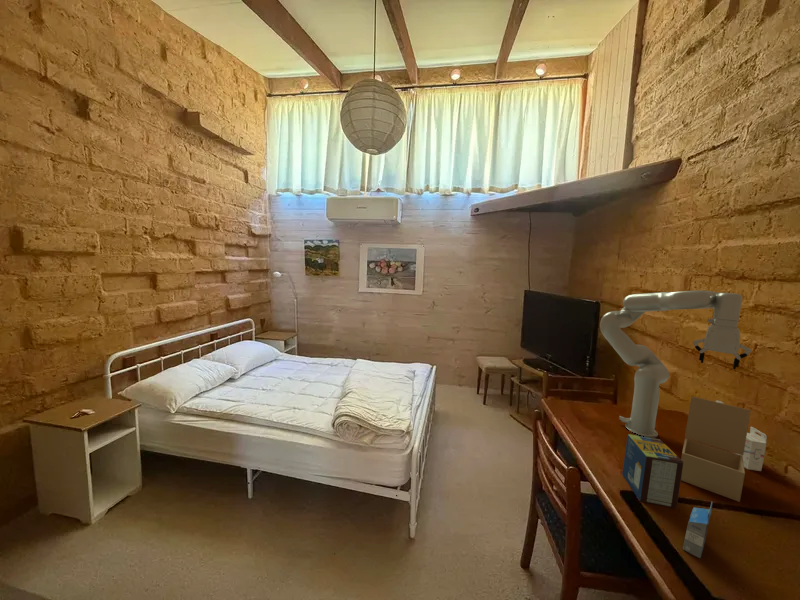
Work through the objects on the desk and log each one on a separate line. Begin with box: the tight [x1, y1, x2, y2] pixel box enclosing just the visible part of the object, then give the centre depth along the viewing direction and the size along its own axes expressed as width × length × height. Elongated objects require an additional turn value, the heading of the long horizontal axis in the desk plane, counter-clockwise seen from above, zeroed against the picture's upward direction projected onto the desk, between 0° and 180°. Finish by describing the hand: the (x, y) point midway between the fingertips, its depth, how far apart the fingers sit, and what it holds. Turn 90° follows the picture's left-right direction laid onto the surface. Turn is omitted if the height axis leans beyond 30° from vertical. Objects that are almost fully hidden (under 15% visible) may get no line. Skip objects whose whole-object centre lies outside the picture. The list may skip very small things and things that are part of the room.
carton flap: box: [684, 396, 751, 455], centre depth 132 cm, size 16×16×7 cm
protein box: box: [621, 433, 684, 509], centre depth 116 cm, size 10×15×16 cm
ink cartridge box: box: [732, 426, 768, 472], centre depth 137 cm, size 9×5×15 cm, turn 168°
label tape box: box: [682, 502, 713, 559], centre depth 92 cm, size 9×4×12 cm, turn 133°
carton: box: [680, 437, 746, 503], centre depth 124 cm, size 16×16×10 cm
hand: (717, 365), depth 139 cm, fingers open, 9 cm apart
